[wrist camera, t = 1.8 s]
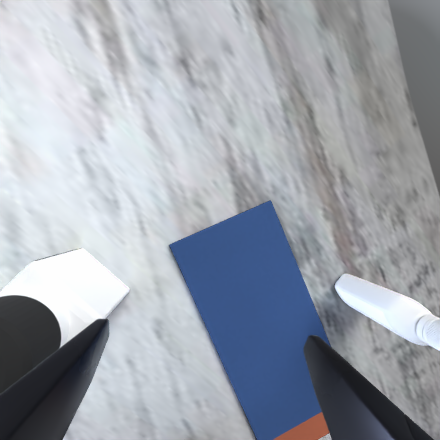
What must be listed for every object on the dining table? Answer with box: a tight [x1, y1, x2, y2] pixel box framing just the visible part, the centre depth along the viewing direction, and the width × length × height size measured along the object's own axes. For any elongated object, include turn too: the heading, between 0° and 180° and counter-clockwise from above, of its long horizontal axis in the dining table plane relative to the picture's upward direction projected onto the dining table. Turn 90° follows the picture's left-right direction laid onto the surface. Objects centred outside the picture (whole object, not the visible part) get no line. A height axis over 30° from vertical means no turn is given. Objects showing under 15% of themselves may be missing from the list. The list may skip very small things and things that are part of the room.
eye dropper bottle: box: [335, 274, 440, 351], centre depth 20 cm, size 4×6×12 cm
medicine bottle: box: [0, 248, 130, 394], centre depth 16 cm, size 7×7×12 cm
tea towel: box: [169, 201, 331, 440], centre depth 25 cm, size 30×13×1 cm, turn 23°
